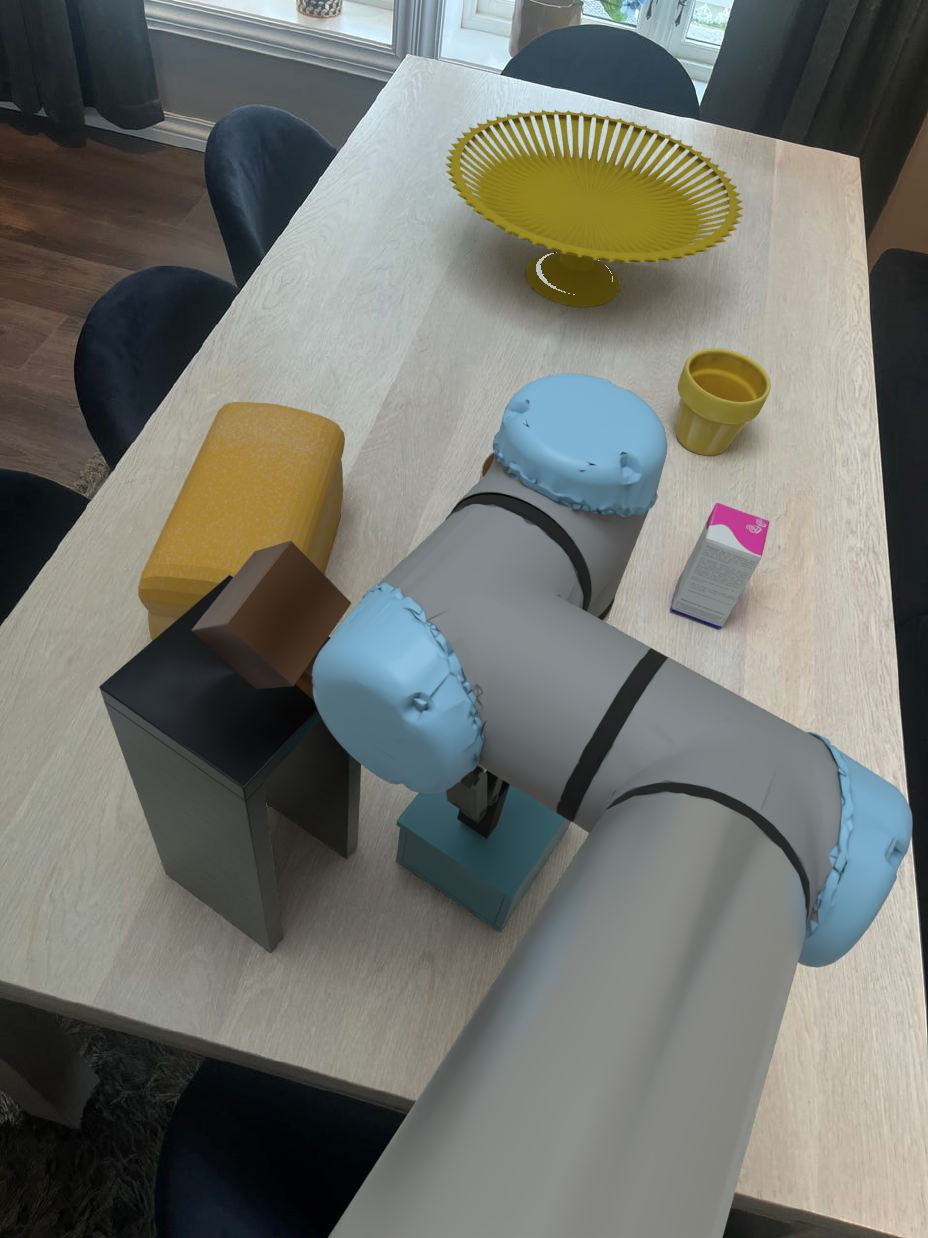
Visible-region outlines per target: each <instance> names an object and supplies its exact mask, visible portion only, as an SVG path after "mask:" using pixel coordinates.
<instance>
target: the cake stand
mask: <svg viewBox="0 0 928 1238" xmlns="http://www.w3.org/2000/svg"><path fill="white" fill-rule="evenodd" d="M555 115H556V116H557V118H558V121H559V127H560V133H561V141H562V150H563V153H562V150H561V147H560V144H559V139H558V133H557V127H556V119H555V118H556V117H555ZM543 116H545V117H546V121H547V124H548V128H549V132H550V137H551V141H552V147H553V150H552V147H551V145H550V143H549V139H548V136H547V132H546V128H545V123H544V117H543ZM568 116H570V124H571V134H572V136H571V137H572V155H571V150H570V145H569V137H568V135H569V134H568V118H567V117H568ZM532 117H533V118H534V120H535V123H536V125H537V128H538V131H539V134H540V137H541V140H542V144H543V147H544V149H543V147H542V146H541V144H540V141H539V138H538V137H537V134H536V130H535V128H534V125H533V121H532ZM580 117H582V119H583V120H582V121H583V122H582V123H583V124H582V125H583V131H582V132H583V133H582V134H583V135H582V136H583V137H582V138H583V140H582V149H581V150H582V151H581V155H580V147H579V126H580ZM495 118H496V119H493V120H491V119H485V120H486V122H485V123H479V122H477V123H476V124H477V126H478V127H468V128H469V130H470V131H469V132H464V131H461V134H462V135H463V136H464V137H455V139H456V141H457V142H458V143H457V142H456V143H452V142H451V143H450V144H451V146H452V147H453V148H454V149H447V151H448V153H450V154H451V155H449V156H445V158H446V159H447V160H448V161H449V162H448V163H445V166H446V167H448V169H449V170H445V172H446V174H448V175H450V176H451V177H450V178H448V181H450V182H451V183H453V184H454V185H453V186H451V188H452V189H454V190H456V191H457V192H459V193H458V194H457V196H458V197H460V198H462V199H463V200H465V201H464V202H463V203H464V204H465V205H467V206H469V207H471V208H473V209H472V212H475V213H477V214H479V215H480V216H482V217H481V219H483V220H485V221H487V222H491V223H492V226H494V227H496V228H498V229H502V230H504V233H507V234H510V235H513V236H515V237H517V238H518V239H520V240H523V241H526V242H529V243H531V245H534V246H538V247H543V248H546V249H547V250H551V251H549V252H546V253H542V254H539V255H537V256H535V257H534V258H532V259H530V261H529V262H528V264H527V266H526V269H525V277H526V280H527V283H528V284H529V285H530V287H531V288H532V289H533V290H534V291H535V292H536V293H538V294H539V295H541V296H542V297H544V298H545V299H548V300H550V301H552V302H555V303H558V304H560V305H565V306H569V307H570V306H571V307H577V308H578V307H579V308H592V307H599V306H602V305H604V304H605V305H606V304H607V303H609V302H611V301H613V300H614V299H615V298H616V297H617V296H618V294H619V292H620V289H621V280H620V278H619V275H618V274H617V273H616V271H615V270H614V269H612V267H610V266H609V265H608V264H606V263H605V262H609V263H611V262H612V263H614V262H615V263H616V262H617V263H622V264H629V263H637V264H644V263H657V264H658V263H659V261H661V262H672V261H673V260H685V259H687V258H686V256H689V257H690V256H698V254H697V253H707V252H709V250H708V249H709V248H717V247H718V245H717V244H719V243H724V242H726V239H724V238H727V237H732V236H733V234H731V233H730V232H733V231H737V230H738V228H737V227H735V225H738V224H739V225H740V224H741V223H742V221H740V220H738V218H742V217H744V215H743V214H741V213H739V212H740V211H742V210H744V207H742V206H740V205H739V204H741V203H743V202H744V200H741V199H739V198H738V196H740V195H741V193H740V192H737V191H735V189H737V188H738V185H734V184H732V183H730V182H731V181H733V179H732V178H729V177H727V176H725V175H726V174H727V171H724V170H720V169H718V168H719V167H720V164H715V163H713V162H711V160H712V157H705V156H703V155H702V154H703V151H697V150H695V149H693V147H694V146H693V145H689V144H685V143H683V139H675V138H673V137H672V135H671V134H664V133H661V132H660V129H656V130H655V129H651V128H649V127H648V124H647V125H639V124H637V123H636V124H635V121H630V122H628V121H625V120H623V119H622V118H621V117H620V118H612V117H610V116H609V115H608V114H607V115H606V116H601V115H598V114H597V113H595V112H594V113H592V114H587V113H584V112H583V111H580V112H573V111H570V110H569V109H568V110H567V111H566V112H563V111H558V110H557V109H554V111H546V110H544V109H542V110H541V111H540V112H535V111H532V110H529V112H527V113H525V112H521V111H517V114H509V113H506V116H503V117H501V116H498V115H496V116H495ZM520 118H522V119H523V122H524V124H525V127H526V129H527V131H528V132H529V135H530V138H531V140H532V143H533V145H534V148H535V150H534V148H533V146H532V145H531V143H530V141H529V139H528V137H527V135H526V132H525V130H524V127H523V125H522V123H521V120H520ZM593 118H594V119H595V128H594V136H593V137H594V138H593V143H592V144H593V145H592V150H591V154H590V157H589V148H590V147H589V146H590V145H589V144H590V135H591V128H592V127H591V126H592V121H593V120H592V119H593ZM510 120H511V121H512V122H513V125H514V126H515V128H516V131H518V134H519V136H520V137H521V139H522V141H523V145H524V146H525V148H526V150H527V151H526V150H525V149H524V147H523V145H522V143H521V142H520V141H519V139H518V137H517V135H516V133H515V131H514V129H513V127H512V125H511V122H510ZM605 121H608V123H607V130H606V135H605V139H604V143H603V147H602V151H601V154H600V157H599V148H600V144H601V143H600V142H601V138H602V133H603V128H604V125H605ZM500 123H501V125H503V127H504V129H505V131H506V132H507V134H508V135H509V137H510V138H511V140H512V142H513V144H514V146H515V147H516V149H517V150H516V149H515V147H514V146H513V145H512V143H511V141H510V140H509V138H508V137H507V135H506V133H505V132H504V130H503V129H502V127H501V125H500ZM618 123H620V127H619V132H618V135H617V138H616V142H615V144H614V147H613V150H612V153H611V155H610V158H609V159H608V155H609V151H610V147H611V143H612V140H613V137H614V133H615V131H616V127H617V125H618ZM491 127H493V128H494V130H495V131H496V133H497V134H498V135H499V137H500V138H501V140H502V142H503V143H504V144H505V146H506V147H507V149H508V150H507V149H506V148H505V147H504V145H503V144H502V143H501V142H500V140H499V139H498V137H497V136H496V135H495V133H494V131H493V130H492V128H491ZM630 127H632V131H631V133H630V137H629V139H628V141H627V144H626V146H625V148H624V150H623V152H622V155H620V156H621V157H620V159H619V160H618V162H617V159H618V156H619V153H620V150H621V147H622V145H623V142H624V140H625V137H626V135H627V133H628V131H629V129H630ZM483 131H484V132H485V133H486V135H487V136H489V138H490V139H491V140H492V142H493V143H494V144H495V146H496V147H497V148H498V149H499V151H500V152H499V151H498V150H497V148H495V147H494V146H493V144H492V143H491V142H490V140H489V139H488V137H486V135H485V134H484V132H483ZM642 131H645V132H644V133H643V135H642V138H641V140H640V142H639V144H638V146H637V148H636V149H635V152H634V153H633V155H632V157H631V158H630V160H629V161H628V160H627V159H628V157H629V155H630V154H631V151H632V149H633V147H634V145H635V143H636V141H637V139H638V137H639V136H640V134H641V133H642ZM476 135H477V136H478V137H479V138H480V139H481V140H482V142H483V144H485V145H486V147H488V148H489V150H490V151H491V152H492V153H490V151H488V150H487V149H486V147H484V146H483V144H482V143H481V142H480V141H479V139H478V138H477V137H476ZM654 135H656V137H655V138H654V141H653V142H652V144H651V146H649V149H648V150H647V152H646V153H645V155H644V156H643V157H642V159H641V160H640V162H639V163H638V164H637V166H635V164H636V163H637V161H638V160H639V157H640V156H641V154H642V152H643V151H644V149H645V148H646V146H647V145H648V143H649V141H650V140H651V139H652V137H653V136H654ZM666 139H667V140H668V141H667V142H666V143H665V145H664V146H663V148H662V149H661V151H660V152H659V153H658V154H657V156H655V158H654V159H653V161H651V163H650V164H649V165H648V166H647V167H646V168H645V166H646V165H647V163H648V161H649V160H650V159H651V158H652V156H653V155H654V153H655V152H656V151H657V149H658V148H659V147H660V146H661V145H662V143H663V142H664V141H665V140H666ZM470 141H471V142H472V143H473V144H474V145H475V146H476V147H477V148H478V149H479V150H480V151H481V152H482V153H483V154H484V155H485V156H484V155H482V154H481V152H479V151H478V150H477V149H476V147H475V146H474V145H473V144H472V143H471V142H470ZM676 145H678V146H677V147H676V149H675V150H674V151H673V153H672V154H671V155H670V156H669V157H668V158H667V159H666V161H664V163H662V165H661V166H660V167H658V168H657V169H656V170H655V171H654V172H652V171H653V170H654V169H655V168H656V166H657V165H658V164H659V163H660V162H661V160H663V158H664V157H665V156H667V154H668V153H669V152H670V151H671V150H672V149H673V148H674V147H675V146H676ZM466 147H467V148H468V149H469V150H470V151H472V152H473V153H474V155H476V156H477V157H478V158H479V159H480V160H478V159H477V158H476V157H475V156H474V155H473V154H472V153H471V152H469V151H468V149H467V148H466ZM508 151H509V152H508ZM685 151H688V152H687V153H686V154H685V155H684V156H683V157H682V158H681V159H679V161H678V162H677V163H676V164H675V165H674V166H673V167H672V168H671V169H670V170H668V171H666V173H664V174H662V173H663V172H664V171H665V170H666V169H667V168H668V167H669V166H670V165H671V164H672V163H673V162H675V160H677V158H679V157H680V156H681V155H682V154H683V153H684V152H685ZM510 153H511V154H510ZM463 154H464V155H465V156H466V157H468V158H469V159H470V160H471V161H472V162H473V163H474V164H473V163H472V162H471V161H470V160H469V159H467V158H466V157H465V156H464V155H463ZM492 154H493V155H494V156H493V155H492ZM580 156H581V157H580ZM695 156H696V157H697V158H696V159H694V160H693V161H692V162H691V163H690V164H689V165H688V166H686V167H685V168H684V169H683V170H682V171H681V172H679V173H678V174H677V175H675V176H673V175H674V174H675V173H676V172H677V171H678V170H679V169H680V168H681V167H683V166H684V165H685V164H687V163H688V162H689V161H690V160H692V159H693V158H695ZM598 157H599V158H598ZM487 158H488V159H487ZM598 159H599V160H598ZM461 160H462V162H461ZM481 161H482V162H481ZM626 161H628V163H627V162H626ZM463 162H464V163H465V164H466V165H465V164H464V163H463ZM616 162H617V164H616ZM626 163H627V164H626ZM703 163H705V164H704V165H703V166H702V167H701V168H700V169H698V170H697V171H695V172H694V173H693V174H691V175H690V176H688V177H687V178H685V179H683V180H681V179H682V178H683V177H685V176H686V175H688V174H689V173H690V172H691V171H693V170H694V169H695V168H697V167H699V166H700V165H701V164H703ZM475 164H476V165H475ZM467 165H468V166H469V167H471V168H472V169H473V170H474V171H473V170H472V169H470V168H469V167H468V166H467ZM634 166H635V168H634ZM461 168H462V169H463V170H462V169H461ZM644 168H645V169H644ZM643 169H644V170H643ZM464 170H465V171H464ZM710 170H712V171H711V172H709V173H708V174H706V175H705V176H704V177H702V178H700V179H698V180H697V181H695V182H694V183H692V184H689V183H690V182H692V181H694V180H695V179H696V178H698V177H700V176H702V174H704V173H706V172H708V171H710ZM468 173H469V174H468ZM659 176H660V177H659ZM671 176H673V177H672V178H670V177H671ZM717 176H718V178H716V177H717ZM464 177H465V178H464ZM669 178H670V179H669ZM714 178H716V179H715V180H714V181H712V182H709V183H708V184H707V185H705V186H703V187H701V188H699V189H697V190H694V191H692V190H693V189H695V188H697V187H699V186H701V185H702V184H704V183H706V182H708V181H710V180H712V179H714ZM469 180H470V181H469ZM679 180H681V181H680V182H678V181H679ZM677 182H678V183H677ZM722 183H723V185H721V186H718V185H720V184H722ZM687 184H689V185H687ZM686 185H687V186H686ZM716 186H718V187H717V188H715V189H714V190H711V191H708V190H710V189H712V188H714V187H716ZM683 187H684V188H683ZM690 191H691V192H690ZM705 191H708V192H707V193H705V194H702V193H704V192H705ZM724 191H726V192H725V193H723V194H721V195H719V196H716V197H714V198H711V199H709V200H706V201H704V200H705V199H707V198H710V197H712V196H714V195H717V194H719V193H722V192H724ZM700 194H702V195H700ZM697 195H700V196H697ZM727 198H729V199H727ZM724 199H726V200H725V201H722V202H719V203H716V202H718V201H721V200H724ZM713 203H716V204H714V205H711V206H708V205H710V204H713ZM728 205H729V206H728ZM706 206H707V207H706ZM725 206H728V207H725ZM722 207H725V208H723V209H720V210H716V211H713V210H715V209H719V208H722ZM710 211H713V212H710ZM724 213H727V214H724ZM720 214H723V215H720ZM717 215H720V216H717ZM713 216H717V217H713ZM710 217H711V218H710ZM721 220H724V221H721ZM716 221H721V222H716ZM713 222H715V223H713ZM708 223H710V224H708ZM715 227H716V228H715ZM710 228H711V229H710ZM710 233H712V234H710ZM554 252H557V253H554ZM550 253H554V254H551V255H549V256H547V257H546V258H544V260H543V261H542V263H541V264H540V265H541V270H542V274H544V275H543V276H544V277H545V278H546V279H547V281H548V283H551V285H553V286H556V288H557V289H560V290H562V291H565V292H566V293H564V292H561V291H558V290H556V289H553V288H551V287H550V286H548V285H547V284H545V283H544V282H543V281H542V280H541V279H540V278H539V276H538V275H537V272H536V264H537V262H538V261H539V259H541V258H542V257H543V256H545V255H547V254H550ZM598 260H599V261H598ZM604 261H605V262H604ZM605 265H606V266H607V267H608V268H609V269H608V268H607V267H606V266H605ZM609 270H610V271H611V273H612V274H611V273H610V271H609ZM612 276H613V282H612ZM568 293H570V294H568ZM573 294H575V295H573Z"/></svg>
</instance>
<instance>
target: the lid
mask: <svg viewBox="0 0 928 1238" xmlns="http://www.w3.org/2000/svg"><path fill="white" fill-rule="evenodd" d="M458 813H459V808H457V807H456V806H454V805H453V804H451V803H450V802H448V801H447V794H446V790H445V791H443V792H439V793H433V794H428V793H419V792H417V794H416V796H415V797H414V798H413V800H412V801H411V802H410V803H409V804H408V806H407V807H406V808H405V810H404V811H403V812H402V813H401V815H400V816H399V817H398V819H397V820H396V823H395V824H396V826H397V827H399V829H400V828H401V829H403V830H404V831H406V832H407V833H409V834H410V835H412V836H413V837H415V838H416V839H418V840H419V841H421V842H422V843H424V844H425V845H426V846H428V847H429V848H431V849H432V850H434V851H435V852H437V853H438V854H440V855H441V856H443V857H444V858H446V859H447V860H449V861H450V862H452V863H453V864H455V865H456V866H458V867H459V868H460V869H462V870H463V871H465V872H466V873H468V874H469V875H471V876H472V877H474V878H475V879H477V880H478V881H480V882H481V883H483V884H484V885H486V886H487V887H489V888H490V889H491V890H493V891H494V892H496V893H497V894H499V895H500V896H502V897H503V898H505V899H506V900H508V901H509V902H511V901H512V899H513V898H514V896H515V895H516V893H517V892H518V890H519V889H520V887H521V885H522V884H523V882H524V881H525V879H526V878H527V876H528V875H529V873H530V872H531V870H532V869H533V867H534V866H535V864H536V863H537V861H538V860H539V858H540V857H541V855H542V853H543V852H544V850H545V849H546V847H547V846H548V844H549V843H550V841H551V840H552V838H553V837H554V835H555V834H556V832H557V831H558V829H559V828H560V826H561V825H562V823H563V821H564V820H565V818H564V817H562V816H561V815H559V814H557V813H555V812H554V811H552V810H550V809H549V808H547V807H545V806H544V805H542V804H541V803H539V802H537V801H536V800H534V799H533V798H531V797H529V796H528V795H526V794H525V793H523V792H521V791H520V790H518V789H517V788H515V787H513V786H512V785H510V786H509V790H508V793H507V796H506V799H505V802H504V805H503V808H502V812H501V815H500V818H499V821H498V824H497V826H496V827H495V829H494V830H493V831H492V833H491V834H490V835H489V837H488V838H487V839H486V838H485V837H483V836H482V835H480V834H479V833H477V832H476V831H474V830H473V829H471V828H470V827H468V826H467V825H465V824H464V823H462V822H461V821H459V820H458V819H457V817H458Z"/></svg>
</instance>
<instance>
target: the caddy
mask: <svg viewBox="0 0 928 1238" xmlns="http://www.w3.org/2000/svg"><path fill="white" fill-rule="evenodd" d="M571 823H572V822H570V821H569V820H567V819H565V820H564V821H563V823H562V825H561V826H560V828H559V829H558V831H557V832H556V834H555V835H554V837H553V838H552V840H551V841H550V843H549V844H548V846H547V847H546V849H545V850H544V852H543V853H542V855H541V857H540V858H539V860H538V861H537V863H536V864H535V866H534V867H533V869H532V870H531V872H530V873H529V875H528V876H527V878H526V879H525V881H524V882H523V884H522V885H521V887H520V889H519V890H518V892H517V893H516V895H515V896H514V898H513V899H512V901H511V902H509V901H508V900H506V899H505V898H503V897H502V896H500V895H499V894H497V893H496V892H494V891H493V890H491V889H490V888H489V887H487V886H486V885H484V884H483V883H481V882H480V881H478V880H477V879H475V878H474V877H472V876H471V875H469V874H468V873H466V872H465V871H463V870H462V869H460V868H459V867H458V866H456V865H455V864H453V863H452V862H450V861H449V860H447V859H446V858H444V857H443V856H441V855H440V854H438V853H437V852H435V851H434V850H432V849H431V848H429V847H428V846H426V845H425V844H424V843H422V842H421V841H419V840H418V839H416V838H415V837H413V836H412V835H410V834H409V833H407V832H406V831H404V830H403V829H401V828H400V827H399V832H398V841H397V849H396V855H395V856H396V857H395V861H396V862H397V863H399V864H400V865H401V866H403V867H404V868H406V869H408V870H409V871H410V872H411V873H413V874H415V875H416V876H418V877H419V878H420V879H421V880H423V881H425V882H426V883H428V884H429V885H430V886H432V887H433V888H435V889H436V890H438V891H439V892H441V893H442V894H444V895H445V896H447V898H449V899H451V900H452V901H454V902H455V903H457V904H458V905H460V906H461V907H462V908H464V909H465V910H467V911H469V912H470V913H471V914H472V915H474V916H476V917H477V918H478V919H480V920H481V921H483V922H484V923H486V924H487V925H489V926H490V927H491V928H493V929H494V930H496V931H497V932H498V933H501V932H502V931H503V930H504V927H505V926H506V924H507V923H508V922H509V920H510V919H511V917H512V915H513V913H514V912H515V911H516V910H517V908H518V906H519V904H520V903H521V902H522V900H523V898H524V897H525V895H526V894H527V892H528V890H529V889H530V888H531V886H532V884H533V883H534V881H535V880H536V878H537V877H538V875H539V873H541V871H542V869H543V868H544V866H545V865H546V863H547V862H548V860H549V859H550V857H551V855H552V853H553V852H554V850H556V848H557V846H558V844H559V843H560V841H561V840H562V838H563V836H565V833H566V832H567V830H568V829H569V828H570V825H571Z"/></svg>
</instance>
